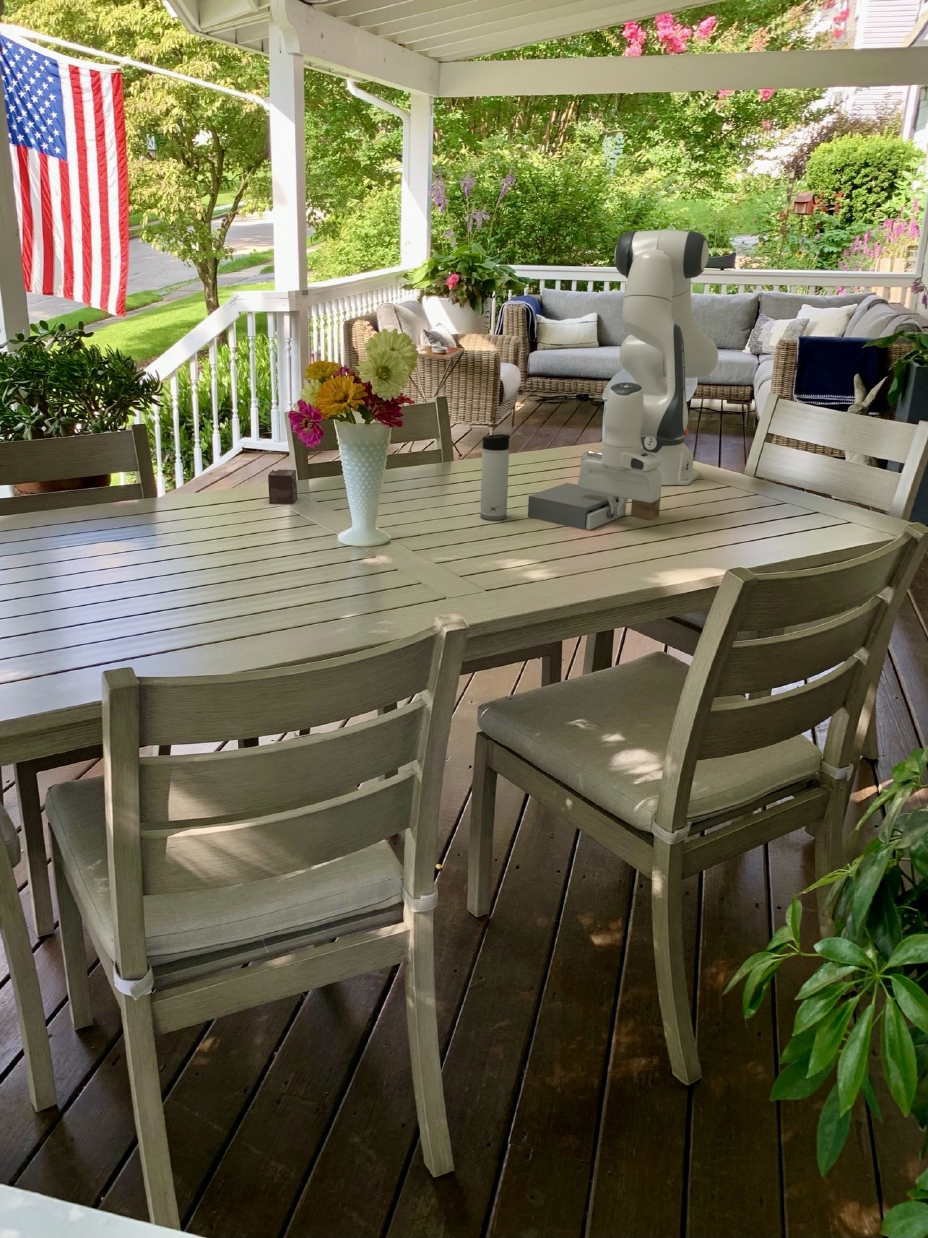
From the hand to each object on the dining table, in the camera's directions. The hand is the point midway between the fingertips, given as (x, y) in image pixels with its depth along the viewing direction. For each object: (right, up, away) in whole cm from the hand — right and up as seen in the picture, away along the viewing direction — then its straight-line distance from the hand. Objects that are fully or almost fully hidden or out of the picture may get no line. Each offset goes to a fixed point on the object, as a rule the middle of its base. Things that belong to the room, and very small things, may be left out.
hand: (616, 514), depth 238 cm
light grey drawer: (-8, 0, +6) cm, 10 cm away
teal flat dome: (-6, +1, +5) cm, 8 cm away
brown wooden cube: (+8, 0, +8) cm, 11 cm away
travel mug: (-29, 0, +5) cm, 29 cm away
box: (-81, +5, +14) cm, 82 cm away
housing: (-9, 0, +7) cm, 11 cm away
